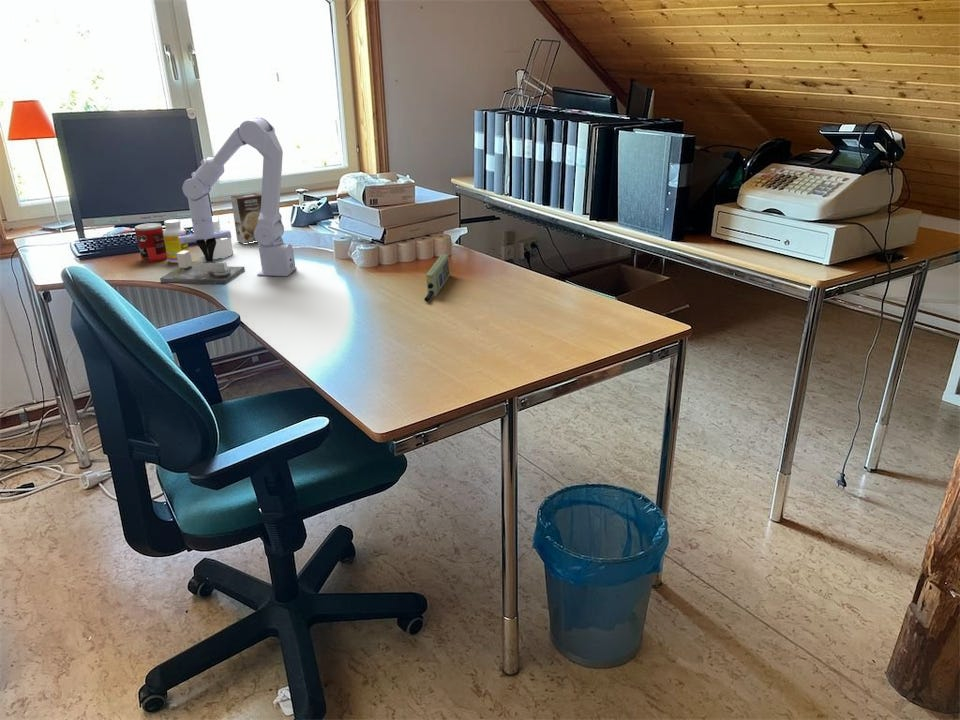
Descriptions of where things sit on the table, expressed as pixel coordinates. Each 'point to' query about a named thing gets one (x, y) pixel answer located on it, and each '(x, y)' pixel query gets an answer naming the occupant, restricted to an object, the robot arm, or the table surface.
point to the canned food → (151, 242)
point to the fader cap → (184, 259)
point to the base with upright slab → (221, 243)
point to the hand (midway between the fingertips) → (210, 263)
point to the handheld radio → (437, 276)
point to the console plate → (200, 276)
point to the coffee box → (246, 215)
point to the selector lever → (211, 267)
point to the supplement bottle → (173, 239)
